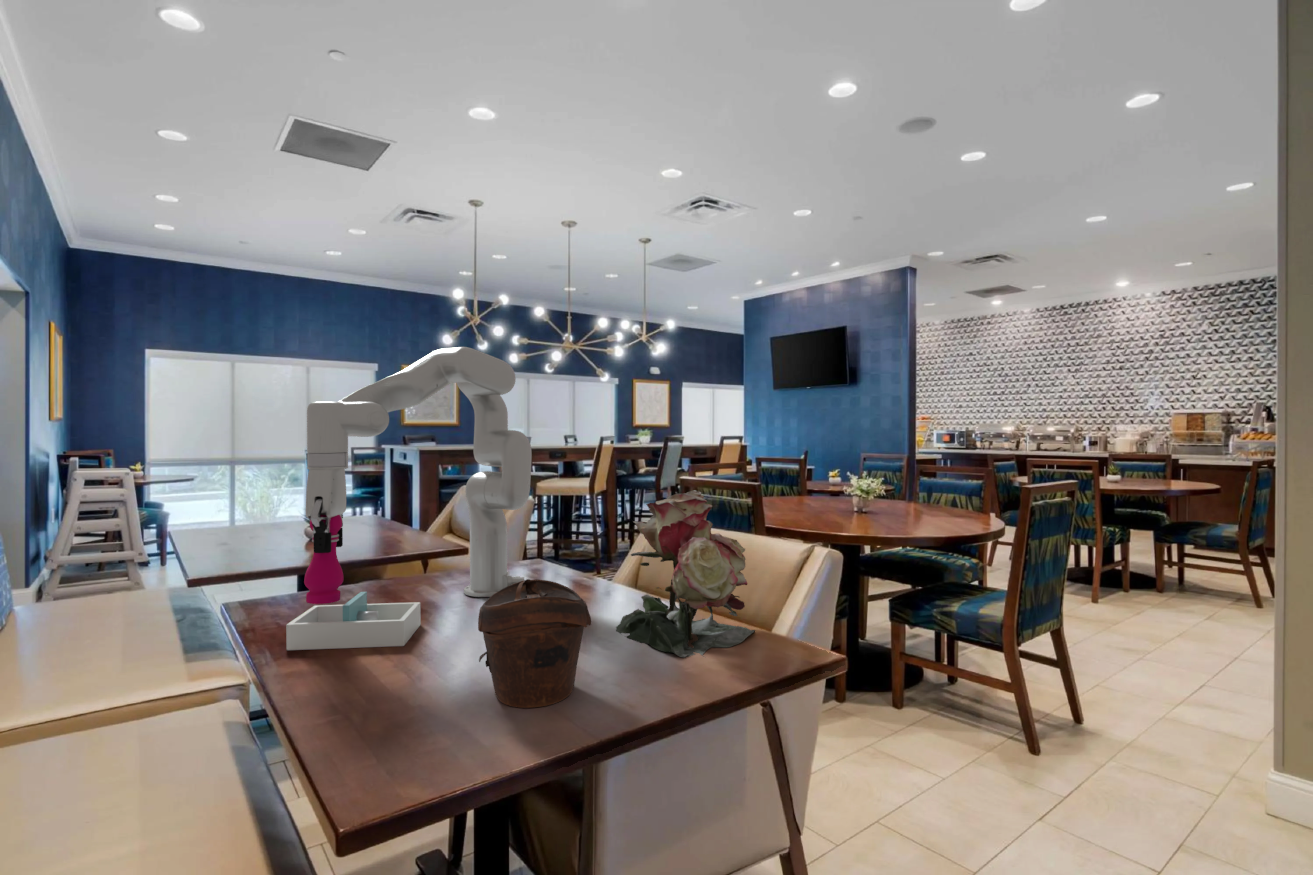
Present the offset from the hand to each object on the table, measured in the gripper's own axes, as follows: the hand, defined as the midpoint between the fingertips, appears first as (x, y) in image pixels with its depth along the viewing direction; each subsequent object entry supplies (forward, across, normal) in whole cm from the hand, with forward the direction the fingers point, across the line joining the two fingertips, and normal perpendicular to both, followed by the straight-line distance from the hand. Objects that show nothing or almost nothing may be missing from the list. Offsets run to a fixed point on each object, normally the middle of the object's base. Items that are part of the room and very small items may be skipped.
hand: (328, 548), depth 136 cm
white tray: (+18, 0, +6) cm, 19 cm away
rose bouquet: (+19, +6, +75) cm, 77 cm away
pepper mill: (+11, +1, -1) cm, 11 cm away
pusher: (+17, 0, +7) cm, 19 cm away
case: (+19, +33, +44) cm, 58 cm away
